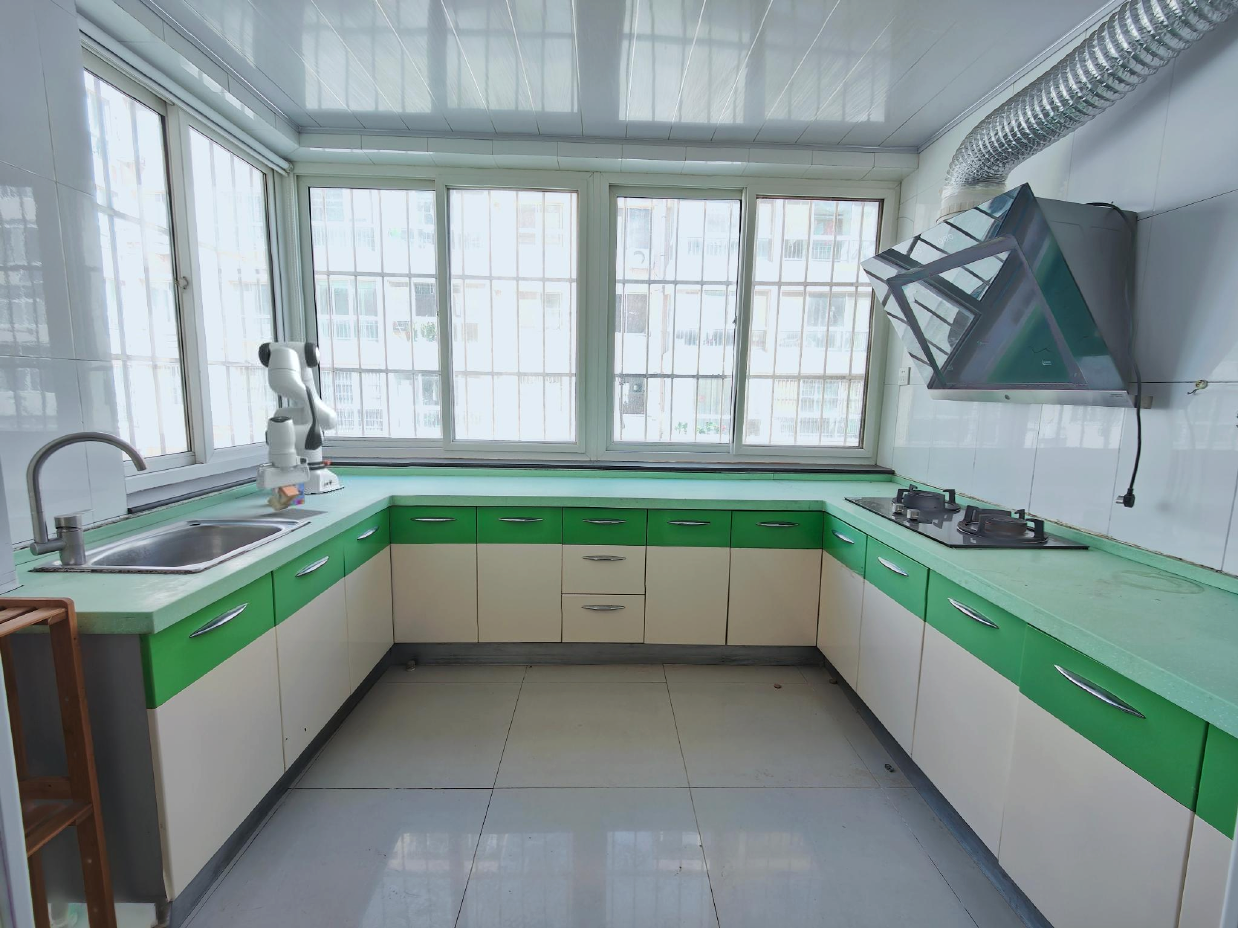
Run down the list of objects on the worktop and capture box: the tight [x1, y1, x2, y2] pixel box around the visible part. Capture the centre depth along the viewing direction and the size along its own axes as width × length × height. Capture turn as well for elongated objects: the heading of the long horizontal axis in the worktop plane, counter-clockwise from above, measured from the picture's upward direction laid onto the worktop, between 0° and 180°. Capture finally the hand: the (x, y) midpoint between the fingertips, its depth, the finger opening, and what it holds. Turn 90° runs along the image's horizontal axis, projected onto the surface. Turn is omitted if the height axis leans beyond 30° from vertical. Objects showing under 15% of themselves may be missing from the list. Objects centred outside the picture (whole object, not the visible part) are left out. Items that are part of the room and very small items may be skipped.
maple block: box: [266, 485, 300, 512], centre depth 199 cm, size 5×5×9 cm
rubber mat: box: [259, 507, 328, 521], centre depth 201 cm, size 14×18×1 cm
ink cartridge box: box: [290, 483, 306, 507], centre depth 218 cm, size 10×6×14 cm, turn 70°
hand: (285, 497), depth 199 cm, fingers closed on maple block, 5 cm apart
